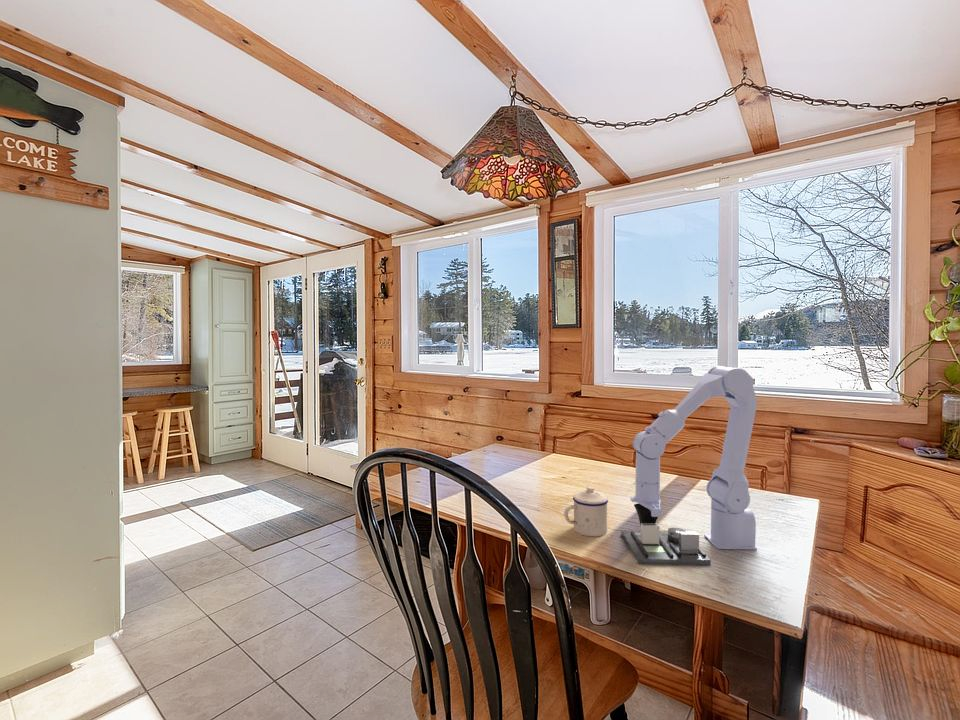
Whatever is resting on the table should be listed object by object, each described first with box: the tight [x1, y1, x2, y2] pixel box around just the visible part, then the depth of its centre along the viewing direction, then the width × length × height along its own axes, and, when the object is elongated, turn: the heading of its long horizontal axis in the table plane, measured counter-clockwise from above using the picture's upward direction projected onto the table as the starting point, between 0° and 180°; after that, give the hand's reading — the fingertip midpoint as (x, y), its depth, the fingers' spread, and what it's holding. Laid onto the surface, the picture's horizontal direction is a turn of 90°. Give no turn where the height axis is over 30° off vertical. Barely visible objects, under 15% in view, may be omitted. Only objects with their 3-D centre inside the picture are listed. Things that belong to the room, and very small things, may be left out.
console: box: [620, 527, 711, 566], centre depth 115 cm, size 16×16×6 cm
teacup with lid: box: [563, 486, 609, 538], centre depth 126 cm, size 12×9×12 cm
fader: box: [640, 523, 660, 544], centre depth 116 cm, size 4×2×5 cm, turn 87°
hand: (647, 534), depth 118 cm, fingers closed
